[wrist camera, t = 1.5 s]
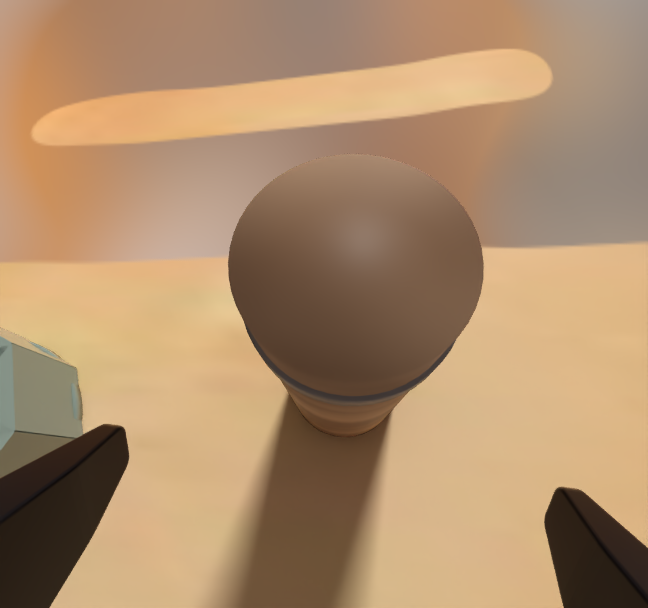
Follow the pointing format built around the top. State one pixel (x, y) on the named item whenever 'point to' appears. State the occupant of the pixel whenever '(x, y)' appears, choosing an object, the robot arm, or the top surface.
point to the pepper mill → (354, 284)
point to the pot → (35, 402)
